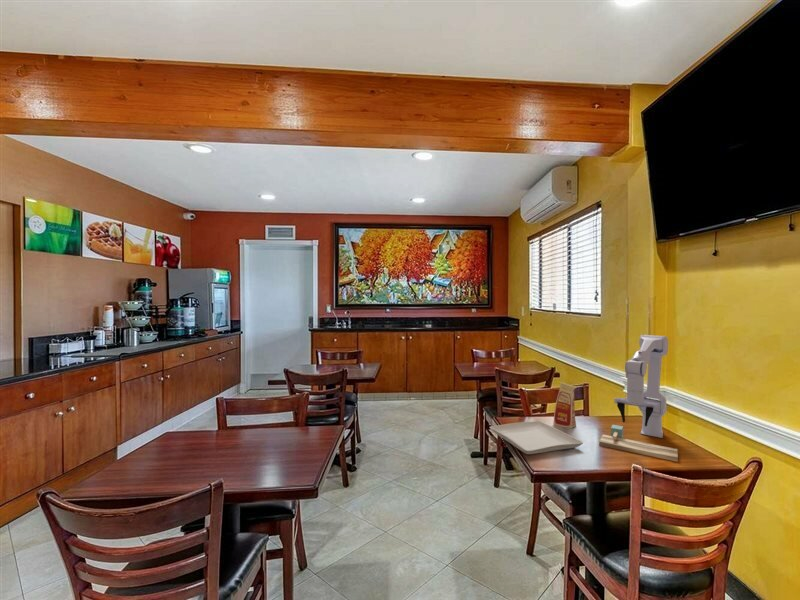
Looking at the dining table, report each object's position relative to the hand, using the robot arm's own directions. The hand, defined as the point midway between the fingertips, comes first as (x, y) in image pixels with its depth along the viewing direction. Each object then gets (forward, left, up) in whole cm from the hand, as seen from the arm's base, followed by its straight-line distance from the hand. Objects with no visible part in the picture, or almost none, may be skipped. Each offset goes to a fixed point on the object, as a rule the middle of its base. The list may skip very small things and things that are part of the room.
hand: (634, 423), depth 154 cm
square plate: (+18, -35, -10) cm, 41 cm away
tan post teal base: (-3, -7, -10) cm, 12 cm away
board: (+1, +1, -10) cm, 10 cm away
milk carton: (-13, -29, -10) cm, 33 cm away
